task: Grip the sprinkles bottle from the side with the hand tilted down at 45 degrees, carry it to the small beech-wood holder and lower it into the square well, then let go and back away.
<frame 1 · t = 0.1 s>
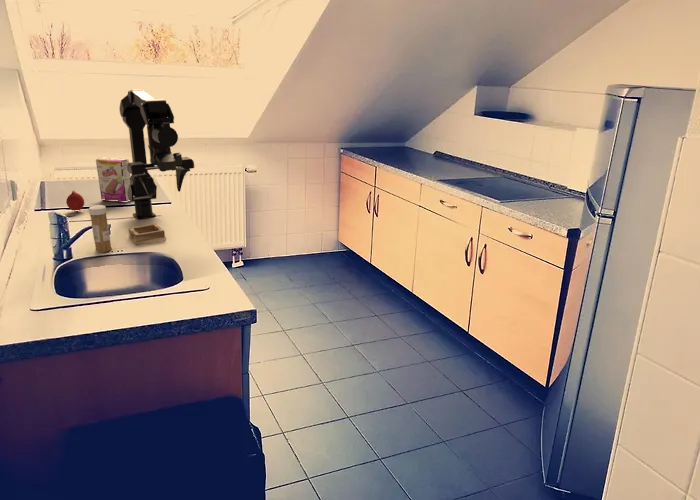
hand: (164, 193, 176), 15 cm above the counter, tool pointing down, fingers open, 9 cm apart
holder: (147, 238, 180), on the counter
onion: (77, 212, 207), on the counter
candy bar box: (117, 201, 221), on the counter
sprinkles bottle: (103, 250, 170), on the counter
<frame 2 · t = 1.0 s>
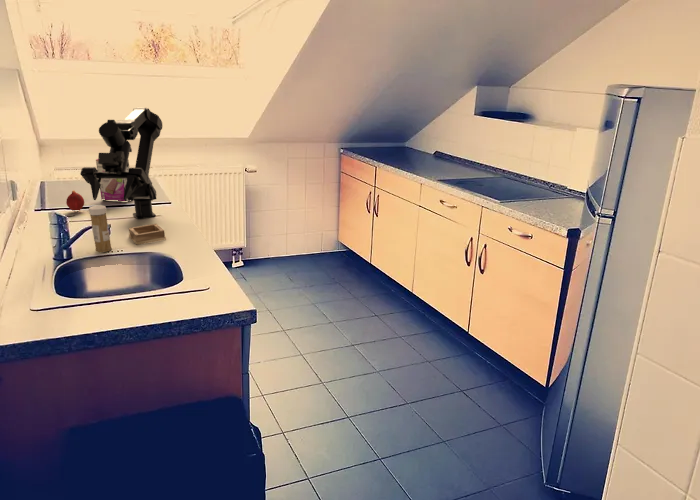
hand: (109, 199, 173), 13 cm above the counter, tool tilted 45°, fingers open, 9 cm apart
nothing on the counter moved.
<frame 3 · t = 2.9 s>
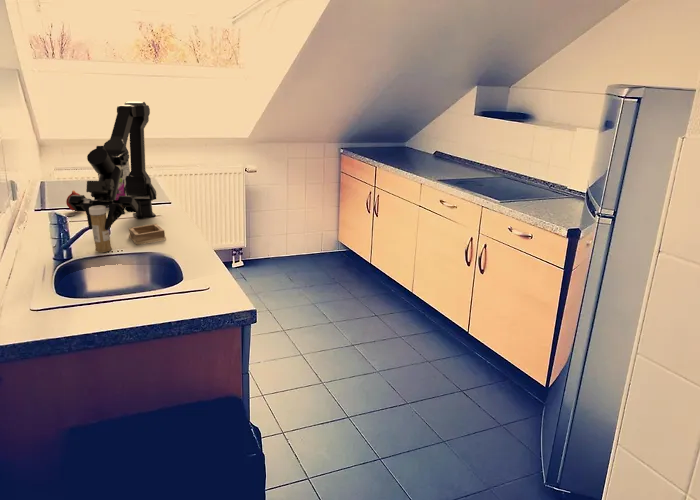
hand: (98, 229, 166), 7 cm above the counter, tool tilted 45°, fingers closed on sprinkles bottle, 4 cm apart
sprinkles bottle: (103, 250, 170), on the counter, touching gripper
everything else where it was.
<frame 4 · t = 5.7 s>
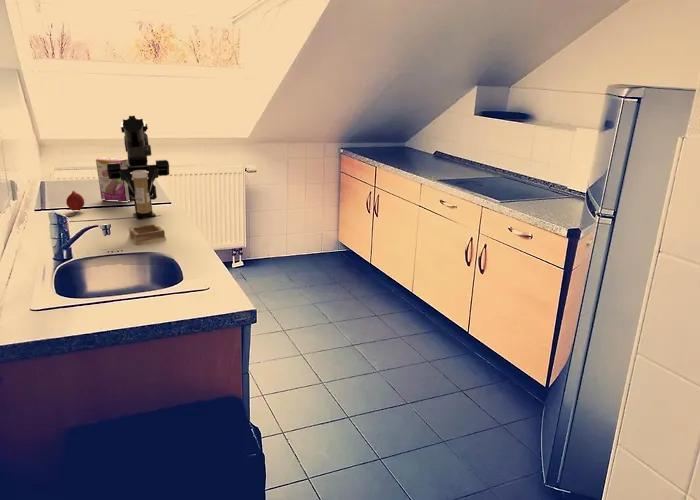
hand: (141, 191, 182), 13 cm above the counter, tool tilted 45°, fingers closed on sprinkles bottle, 4 cm apart
sprinkles bottle: (144, 212, 186), point 6 cm above the counter, touching gripper
everything else where it was.
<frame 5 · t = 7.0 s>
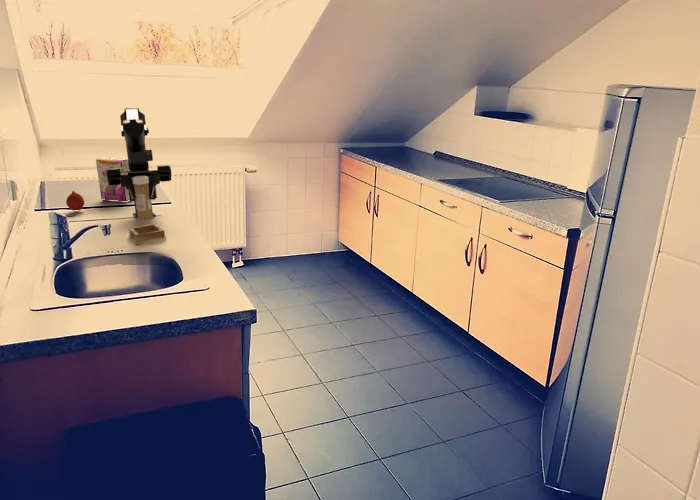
hand: (142, 198, 175), 13 cm above the counter, tool tilted 45°, fingers closed on sprinkles bottle, 4 cm apart
sprinkles bottle: (145, 219, 178), point 6 cm above the counter, touching gripper
everything else where it was.
when the fingers open (8 cm above the counter, at t = 8.4 s): sprinkles bottle stays where it is, resting on holder.
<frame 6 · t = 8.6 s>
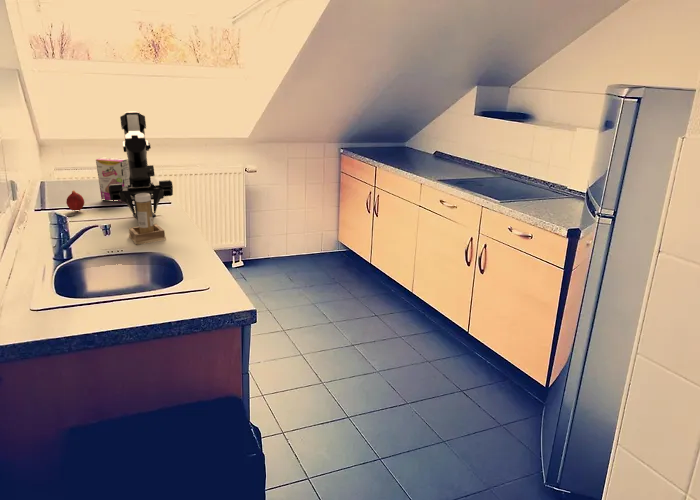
hand: (144, 213, 176), 9 cm above the counter, tool tilted 45°, fingers open, 6 cm apart
sprinkles bottle: (147, 236, 180), point 1 cm above the counter, touching holder
everything else where it was.
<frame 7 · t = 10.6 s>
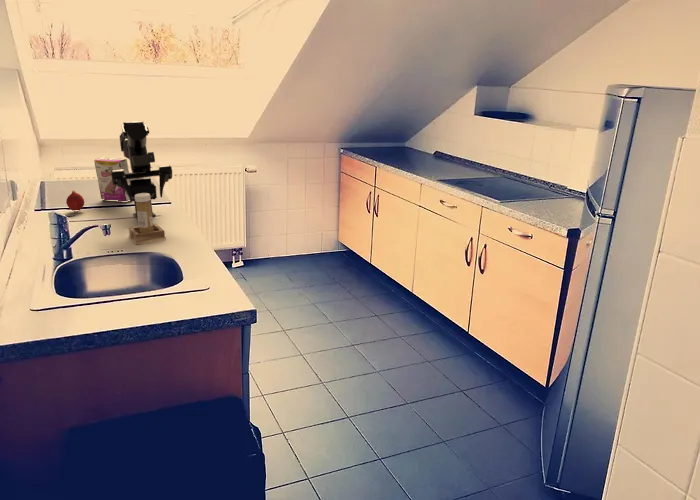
hand: (146, 198, 185), 11 cm above the counter, tool tilted 40°, fingers open, 9 cm apart
nothing on the counter moved.
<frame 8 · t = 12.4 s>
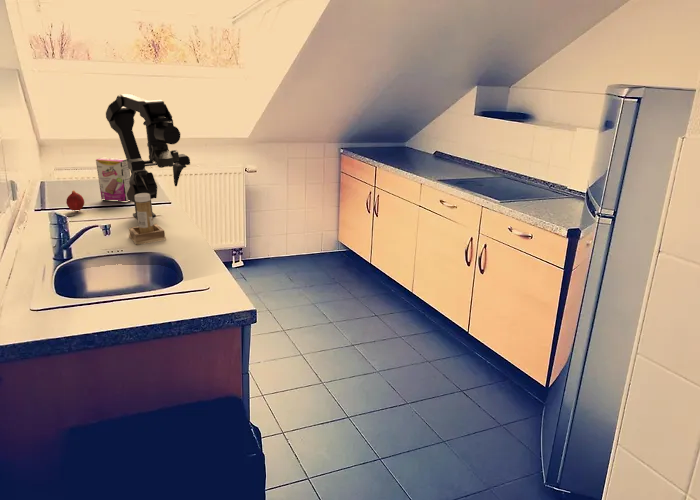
hand: (162, 187, 188), 13 cm above the counter, tool pointing down, fingers open, 9 cm apart
nothing on the counter moved.
at the end: sprinkles bottle 0.2 cm off-centre on the holder, point 0.6 cm above the holder's base; sprinkles bottle tilted 0°; the gripper is holding nothing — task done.
